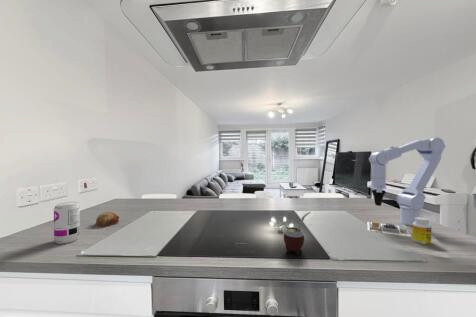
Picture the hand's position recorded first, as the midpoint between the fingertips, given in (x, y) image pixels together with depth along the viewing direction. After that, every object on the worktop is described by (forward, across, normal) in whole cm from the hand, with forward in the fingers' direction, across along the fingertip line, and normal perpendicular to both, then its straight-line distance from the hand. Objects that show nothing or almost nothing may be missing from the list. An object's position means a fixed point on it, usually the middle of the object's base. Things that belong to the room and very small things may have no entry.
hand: (378, 205), depth 101 cm
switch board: (+10, +6, +3) cm, 12 cm away
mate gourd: (+11, +47, -27) cm, 55 cm away
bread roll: (+12, +64, -118) cm, 135 cm away
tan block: (+9, +9, -1) cm, 13 cm away
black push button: (+8, +8, +4) cm, 12 cm away
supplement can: (+11, +84, -110) cm, 139 cm away
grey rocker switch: (+7, +7, +9) cm, 13 cm away
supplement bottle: (+11, +16, +13) cm, 24 cm away
